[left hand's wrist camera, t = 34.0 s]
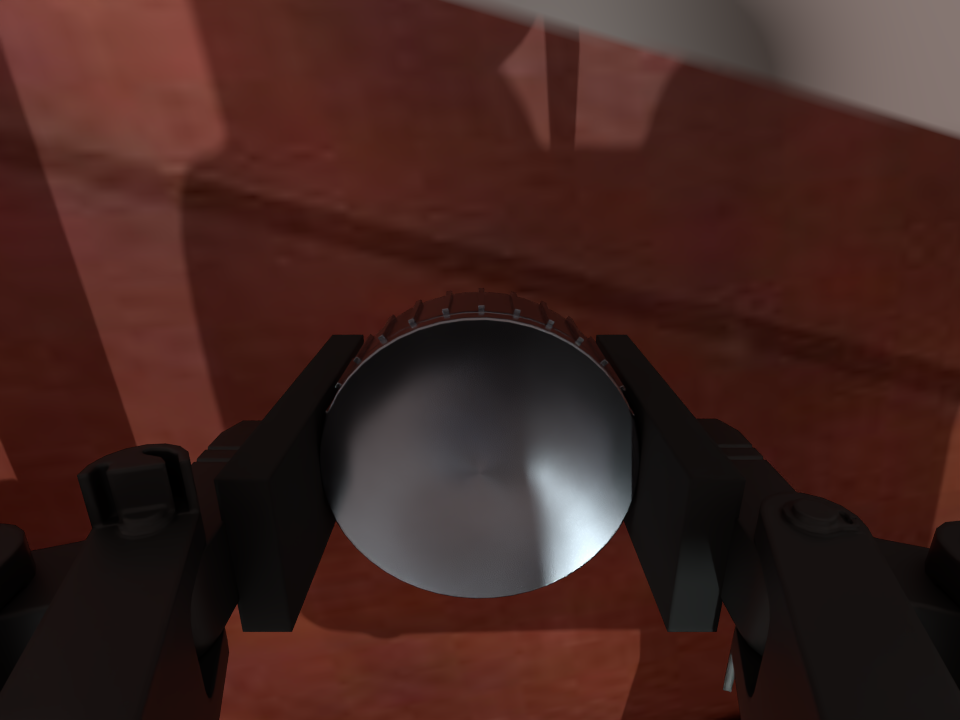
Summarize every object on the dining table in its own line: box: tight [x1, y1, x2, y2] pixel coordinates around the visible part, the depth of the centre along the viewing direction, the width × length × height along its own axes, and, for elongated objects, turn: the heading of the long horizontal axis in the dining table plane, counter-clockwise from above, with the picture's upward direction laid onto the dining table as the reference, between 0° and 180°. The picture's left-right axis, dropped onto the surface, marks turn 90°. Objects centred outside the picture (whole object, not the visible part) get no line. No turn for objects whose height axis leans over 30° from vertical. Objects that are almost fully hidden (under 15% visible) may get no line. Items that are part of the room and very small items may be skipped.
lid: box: [319, 288, 641, 598], centre depth 11 cm, size 6×6×2 cm
